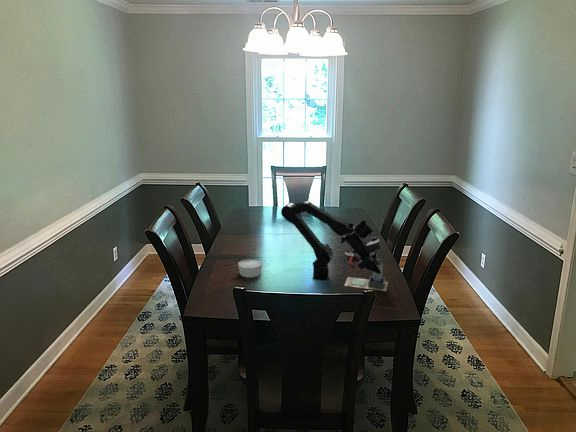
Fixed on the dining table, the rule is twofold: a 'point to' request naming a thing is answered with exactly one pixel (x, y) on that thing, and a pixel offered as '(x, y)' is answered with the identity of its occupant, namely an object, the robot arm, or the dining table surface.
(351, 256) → the pliers
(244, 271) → the ramekin
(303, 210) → the robot arm
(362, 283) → the pad
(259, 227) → the dining table surface
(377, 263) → the capped bottle
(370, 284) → the gray square frame
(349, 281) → the board
